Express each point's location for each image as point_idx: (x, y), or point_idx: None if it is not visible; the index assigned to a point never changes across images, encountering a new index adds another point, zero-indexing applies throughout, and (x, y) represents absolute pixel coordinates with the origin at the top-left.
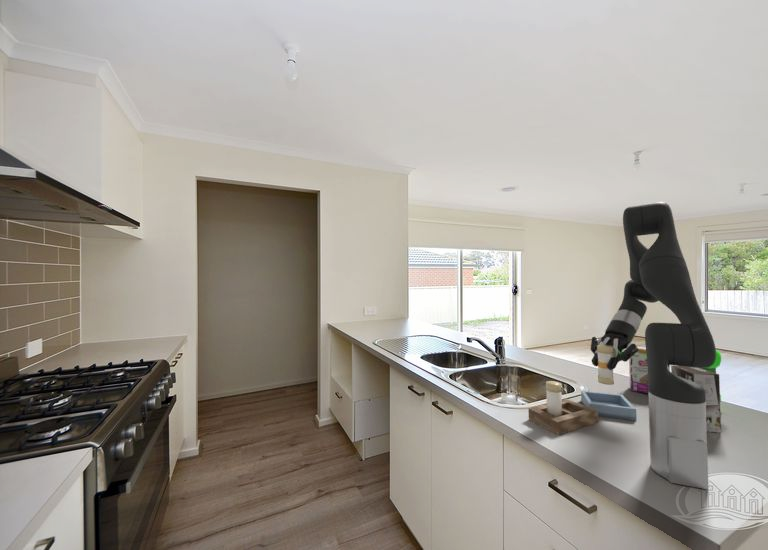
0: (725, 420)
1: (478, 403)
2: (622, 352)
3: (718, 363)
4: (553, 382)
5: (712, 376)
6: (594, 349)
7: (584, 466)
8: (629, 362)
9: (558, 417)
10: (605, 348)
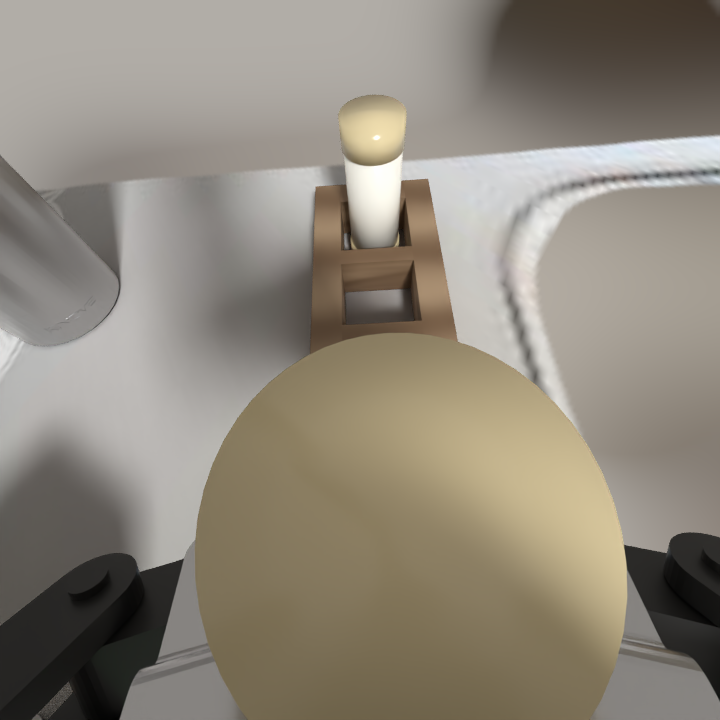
0: None
1: (576, 162)
2: (39, 663)
3: None
4: (381, 118)
5: None
6: (689, 581)
7: (209, 178)
8: None
9: (336, 205)
10: (297, 376)
